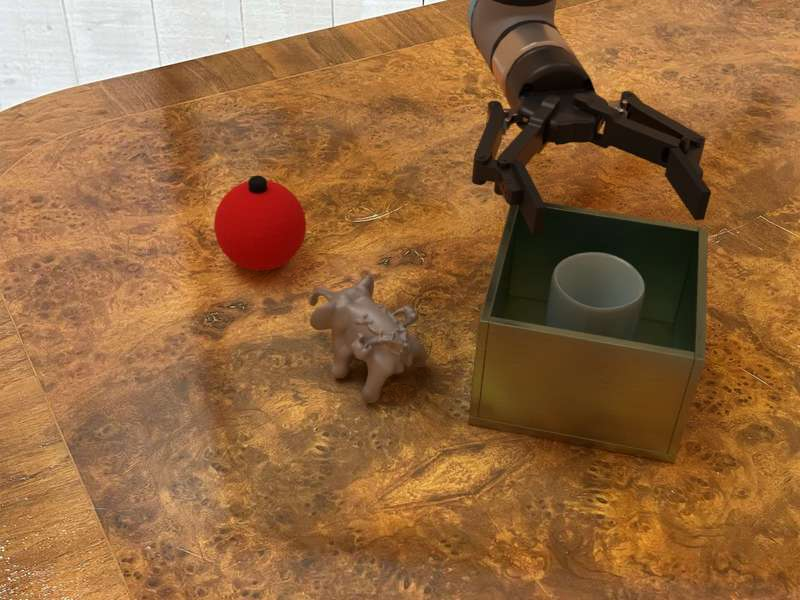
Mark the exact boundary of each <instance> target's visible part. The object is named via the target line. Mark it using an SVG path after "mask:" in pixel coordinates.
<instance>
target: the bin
mask: <svg viewBox="0 0 800 600" xmlns="http://www.w3.org/2000/svg"><path fill="white" fill-rule="evenodd" d="M543 202H544V204H545V206H546V213H545V220H544V226H543V233H542V236H533V235H532V233H531V231H530V229H529V227H528V225H527V223H526V221H525V219H524V217H523V215H522V213H521V211H520V208H519V206H518V205H511V206H510V205H509V206H508V210H507V213H506V216H505V217H506V218H505V221H504V225H503V229H502V232H501V236H500V240H499V243H498V247H497V251H496V255H495V258H494V263H493V267H492V270H491V274H490V278H489V280H488V281H489V282H488V285H487V289H486V293H485V297H484V300H483V304H482V308H481V312H480V315H479V319H478V326H477V336H476V345H475V353H474V362H473V374H472V381H471V392H470V402H469V408H468V409H469V411H468V420H467V424H468V425H471V426H476V427H481V428H485V429H492V430H497V431H503V432H508V433H512V434H518V435H523V436H527V437H533V438H538V439H542V440H543V439H544V440H550V441H553V442H560V443H565V444H569V445H576V446H579V447H580V446H581V447H585V448H589V449H590V448H591V449H595V450H602V451H607V452H613V453H616V454H617V453H618V454H622V455H628V456H633V457H638V458H644V459H649V460H654V461H659V462H664V463H669V464H675V463H676V460H677V456H678V453H679V449H680V446H681V443H682V440H683V437H684V433H685V430H686V426H687V423H688V420H689V416H690V414H691V413H690V412H691V409H692V407H693V403H694V400H695V398H696V397H695V396H696V393H697V389H698V386H699V383H700V380H701V376H702V374H703V370H704V368H705V367H704V366H705V364H706V351H707V350H706V349H707V346H706V345H707V303H708V302H707V297H708V295H707V293H708V249H709V248H708V247H709V246H708V245H709V243H708V242H709V241H708V240H709V228H708V227H706V226H699V225H693V224H687V223H682V222H681V223H680V222H675V221H668V220H661V219H656V218H649V217H642V216H636V215H630V214H624V213H616V212H611V211H605V210H597V209H592V208H586V207H578V206H572V205H566V204H561V203H554V202H547V201H543ZM589 252H598V253H606V254H610V255H613V256H616V257H618V258H621V259H623V260H624V261H626V262H627V263H629V264H630V265H632V266H633V267H634V268H635V269H636V270H637V271H638V273H639V274H640V275H641V277H642V279H643V281H644V284H645V296H644V302H643V306H642V311H641V315H640V319H639V323H638V327H637V331H636V334H635V338H634V341H629V340H623V339H617V338H612V337H606V336H600V335H594V334H589V333H583V332H577V331H572V330H566V329H560V328H554V327H549V326H545V315H546V307H547V301H548V294H549V288H550V283H551V278H552V274H553V271H554V269H555V267H556V266H557V265H558V264H559V263H560V262H561V261H562V260H564V259H566V258H568V257H570V256H573V255H576V254H581V253H589Z"/></svg>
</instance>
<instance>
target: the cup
mask: <svg viewBox="0 0 800 600" xmlns="http://www.w3.org/2000/svg"><path fill="white" fill-rule="evenodd" d="M644 296H645V284H644V281H643V279H642V277H641V275H640V274H639V273H638V271H637V270H636V269H635V268H634V267H633V266H632V265H630V264H629V263H627V262H626V261H624V260H623V259H621V258H618V257H616V256H613V255H610V254H606V253H598V252H589V253H581V254H576V255H573V256H570V257H568V258H566V259H564V260H562V261H561V262H560V263H559V264H558V265H557V266H556V267H555V269H554V271H553V274H552V278H551V283H550V288H549V294H548V301H547V307H546V315H545V326H549V327H554V328H560V329H566V330H572V331H577V332H583V333H589V334H594V335H600V336H606V337H612V338H617V339H623V340H629V341H634V338H635V334H636V331H637V327H638V323H639V319H640V315H641V311H642V306H643V302H644Z"/></svg>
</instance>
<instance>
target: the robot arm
mask: <svg viewBox="0 0 800 600" xmlns="http://www.w3.org/2000/svg"><path fill="white" fill-rule="evenodd" d="M556 6H557V0H470V2H469V3H468V7H467V12H466V18H467V26H468V29H469V32H470V37H471V38H472V40H473V44H474V46H475V47H476V49H477V50H478V52H479V53H480V55H481V56H482V58H483V60H484V61H485V63H486V65H487V67H488V69H489V70H490V72H491V74H492V76H493V77H494V79H495V81H496V83H497V85H498V86H499V89H500V90H501V92H502V94H503V96H504V98H505V99H506V102H507V104H508V106H509V107H510V108H507V107H505V108H503V105H502V102H500V101H499V100H489V101H488V103H487V110H486V111H487V112H486V121H485V127H484V129H483V132H482V135H481V137H480V140H479V143H478V145H477V147H476V150H475V152H474V155H473V162H472V173H471V174H472V175H471V182H472V184H474V185H477V186H482V185H485V184H486V183H487V182H492V183H494V186H493V193H494V194H496V195H498V196H503V198H504V200H505V203H506V204H507V205H509V206H511V205H518V206H519V208H520V211H521V213H522V215H523V217H524V219H525V221H526V223H527V225H528V227H529V229H530V231H531V233H532V235H533V236H542V233H543V226H544V220H545V213H546V206H545V204H544V202H545V201H544V200H543V198H542V196H541V194H540V192H539V190H538V189H537V186H536V185H535V183H534V181H533V179H532V176H531V175H530V172H529V171H528V169H527V167H526V166H527V165H528V164H529V163H530V162H531V160H532V159H533V158H534V157H535V156H536V154H538V155H540V154H541V152H542V151H543V150H544V149H545V148H546V147H547V146H548V145H549V144H554V145H555V146H562V145H567V144H570V143H576V144H585V143H590V144H592V145H595V146H597V147H600V148H602V149H608V148H609V147H612V148H615V149H617V150H620V151H622V152H625V153H628V154H629V155H632V156H635V157H637V158H639V159H642V160H645V161H647V162H650V163H652V164H654V165H656V166H659V167H662V168H664V169H665V170H664V171H665V172H664V177H665V179H666V180H667V181H668V183H669V184H670V186H671V187H672V189H673V190H674V191H675V193H676V194H677V196H678V197H679V199H680V200H681V201H682V203H683V205H684V207H685V208H686V209H687V211H688V212H689V213H690V215H691V216H692V218H693V220H694V221H704V220H705V218H706V214H707V210H708V206H709V202H710V198H711V194H712V191H711V189H710V188H709V186H708V185H707V184H706V182H705V181H704V179H703V178H704V170H703V168H702V166H701V165H700V164H701V160H702V156H703V153H704V149H705V144H706V140H707V138H706V137H705V136H703V135H702V134H700V133H698V132H696V131H695V130H692V129H691V128H689V127H687V126H686V125H684V124H683V123H680V122H678V121H677V120H675V119H673V118H671V117H669V116H668V115H666V114H665V113H662V112H661V111H659V110H657V109H655V108H654V107H651V106H650V105H648V104H646V103H645V102H644V101H642V100H641V99H640V98H639V97H638V96H637V95H636V94H635V93H634V92H633V91H631V90H624V91H622V92H621V94H620V99H617V100H607V99H606V98H604V97H602V96H600V95H599V94H597V93H596V90H595V87H594V84H593V81H592V79H591V77H590V75H589V73H588V72H587V70H586V69H585V68H584V66H583V65H582V63H581V62H580V60H579V59H578V57H577V55H576V53H575V52H574V50H573V49H572V48H571V46H570V45H569V43H568V42H567V40H566V39H565V38H564V36H563V35H562V34H561V32H560V30H559V29H558V27H557V25H556V24H555V13H556ZM512 125H516V126H517V128H519V129H520V130H521V131H520V132H519V133H518V134H517V135H516V137H514V139H513V140H512V141H511V142H510V143H509V144H508V145H507V146H506V147H505V149H503V151H502V152H501V153H500V154H499V155H498V157H497V154H498V152H499V149H500V146H501V143H502V141H503V140H502V139H503V136H506V135H507V133H508V132H507V131H508V130H509V129H511V127H512ZM603 125H604V126H603ZM602 127H603V131H602V133H600V130H601V129H602ZM496 157H497V158H496Z"/></svg>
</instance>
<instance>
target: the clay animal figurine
mask: <svg viewBox="0 0 800 600" xmlns="http://www.w3.org/2000/svg"><path fill="white" fill-rule="evenodd" d="M374 288H375V282H374V278H373V276H372V274H371V273H368V275H367V276H366V277H364V278H362V279H361V280H360V281H358V282H357V283H356V285H354V286H348V287H345V288H342V289H340V290H338V291H333V290H330V289H328V288H325V287H323V286H320V285H317V286H316V287H315V288H314V289H313V291H312V294H311V295H310V296H309V299H308V304H309V305H310V306H311V307H315V306H317V304H318V303H319V297H321V296H322V297H323V298H325V299H326V300H327V303H326V304H323V305H320V306H318V307H317V308H315V309H314V311H312V313H311V315H310V318H309V325H310V326H311V328H312V329H314V330H315V331H326V330H330V329H331V334H330V335H331V340H332V341H331V343H332V357H333V361H332V365H331V367H330V374H331V376H332V377H333V378H334V379H344V378H345V377H347V376H348V374H349V371H350V368H351V365H352V363H353V361H354V360H355V358H356V359H357V360H360V361H363V362H365V363H366V366H367V377H366V381H365V384H364V386H363V388H362V391H361V397H362V399H363V400H364V401H365V402H366V403H368V404H375V403H376V402H378V401H379V398H380V396H381V395H380V394H381V390H382V388H383V387H384V384H385V382H386V381H387V379H388V378H389V377H391V376H392V375H395V374H403V373H404V371H405V367H407V368H410V367H412V365H414V366H415V367H418V368H421V367H424V366H425V365H426V363H427V358H428V352H427V349H426V348H425V346H424V345H423V344H422V343H421V342H420V341H419V340H418V339H417V338H416V337H414V336H413V335H412V334H411V333H409V332H408V327H409V326H412V325H413V324H415V323H416V322H417V321H418V320H419V313H418V312H417V311H416V310H415V309H414V308H413V307H411V306H410V305H404V306H402V307H400V308H398V309H396V310H395V311H394V312H390V311H389V310H387V308H386V307H384V306H383V305H382V304H378V303H376V302H375V300H374V298H373V294H374V290H375V289H374ZM400 314H402V315H404V320H403V322H402V321H401V320H398V319H397V318H396V317H397V316H398V315H400Z"/></svg>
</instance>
